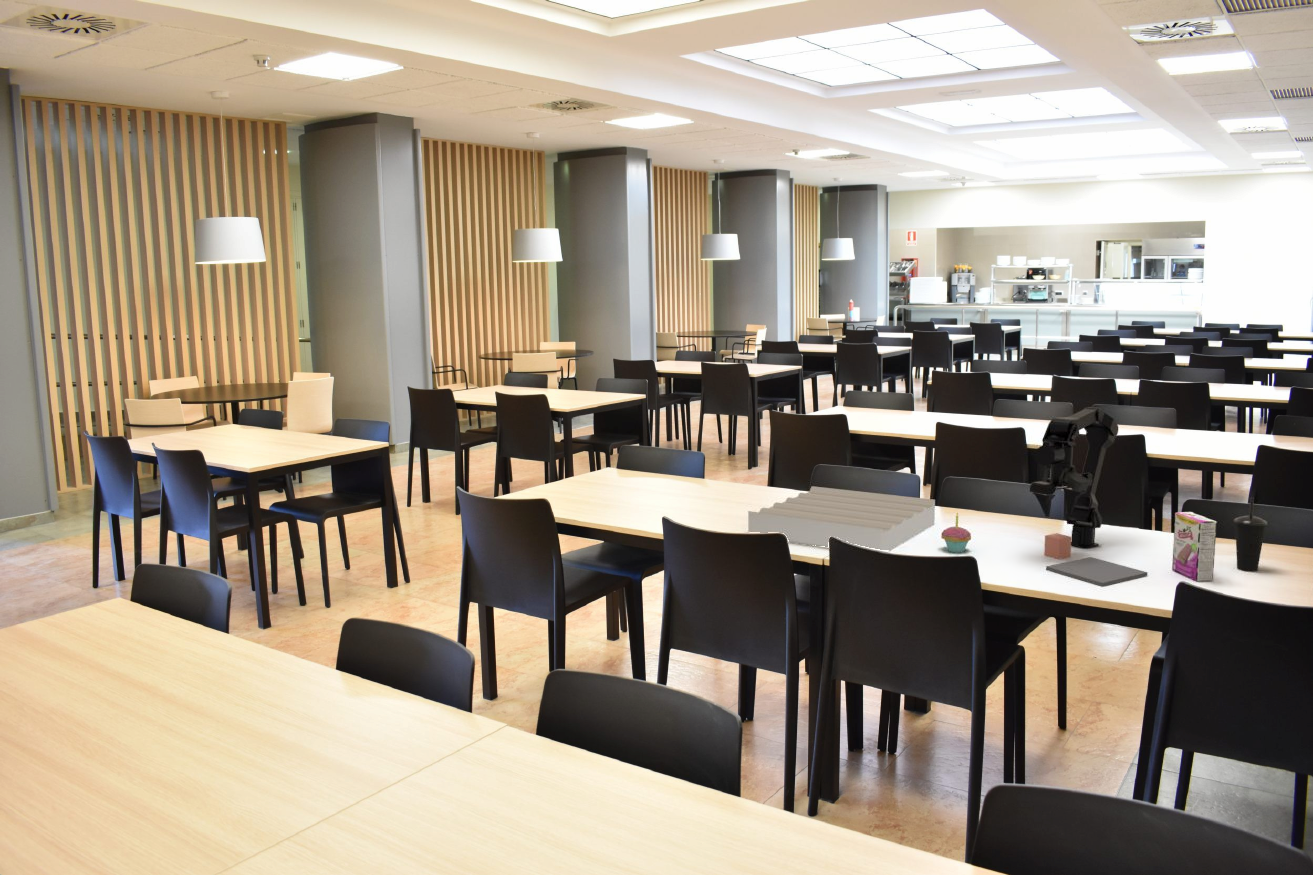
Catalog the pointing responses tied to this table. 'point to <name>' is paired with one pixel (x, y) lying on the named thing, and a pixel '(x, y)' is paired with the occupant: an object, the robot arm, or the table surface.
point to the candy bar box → (1194, 546)
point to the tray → (846, 518)
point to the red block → (1057, 546)
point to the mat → (1096, 571)
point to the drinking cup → (1249, 540)
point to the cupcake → (956, 537)
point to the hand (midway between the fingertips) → (1058, 515)
